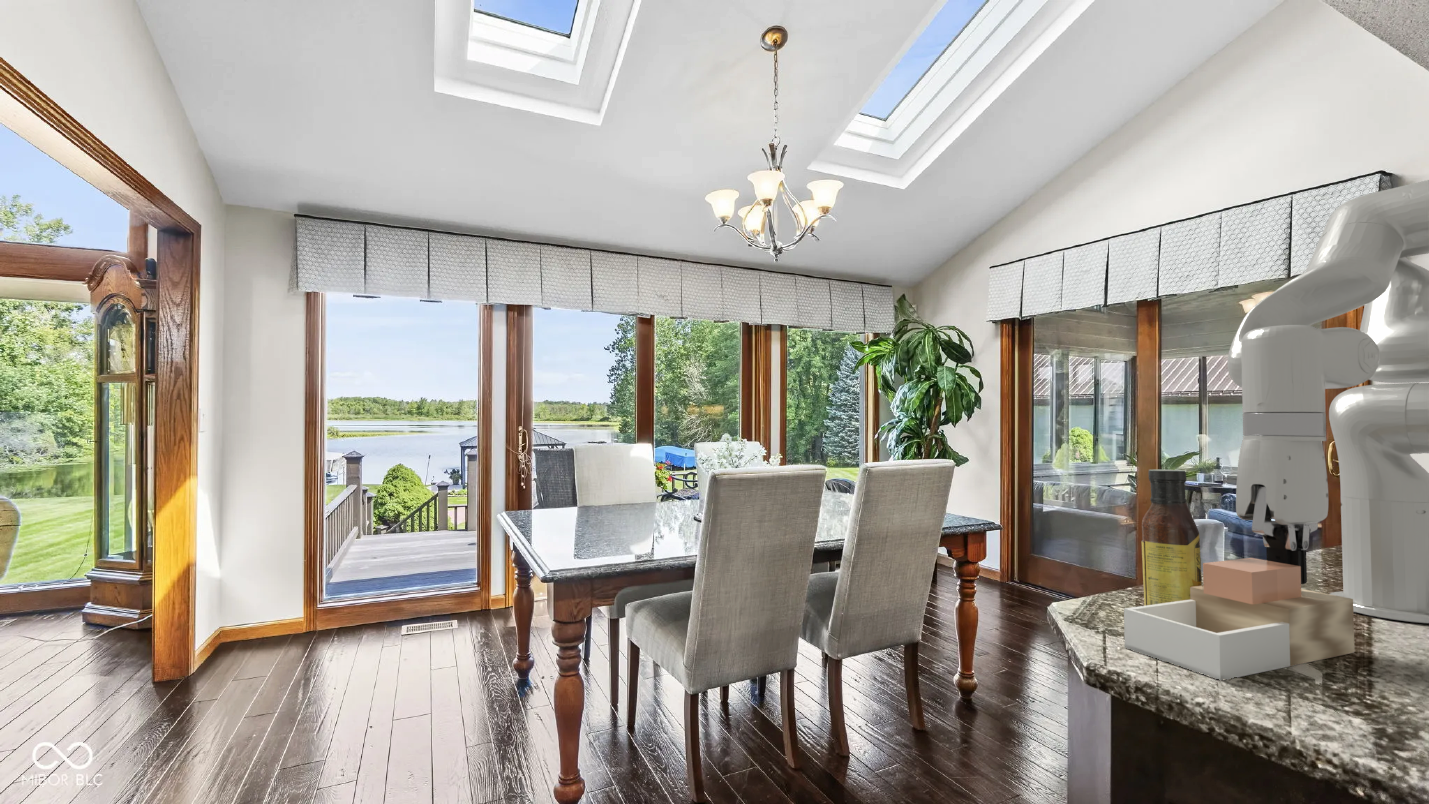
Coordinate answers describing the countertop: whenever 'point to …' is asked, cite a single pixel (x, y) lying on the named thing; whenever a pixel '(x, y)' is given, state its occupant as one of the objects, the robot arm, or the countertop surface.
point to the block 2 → (1281, 576)
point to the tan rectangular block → (1286, 621)
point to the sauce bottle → (1169, 541)
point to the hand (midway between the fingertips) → (1286, 581)
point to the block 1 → (1240, 582)
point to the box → (1204, 641)
